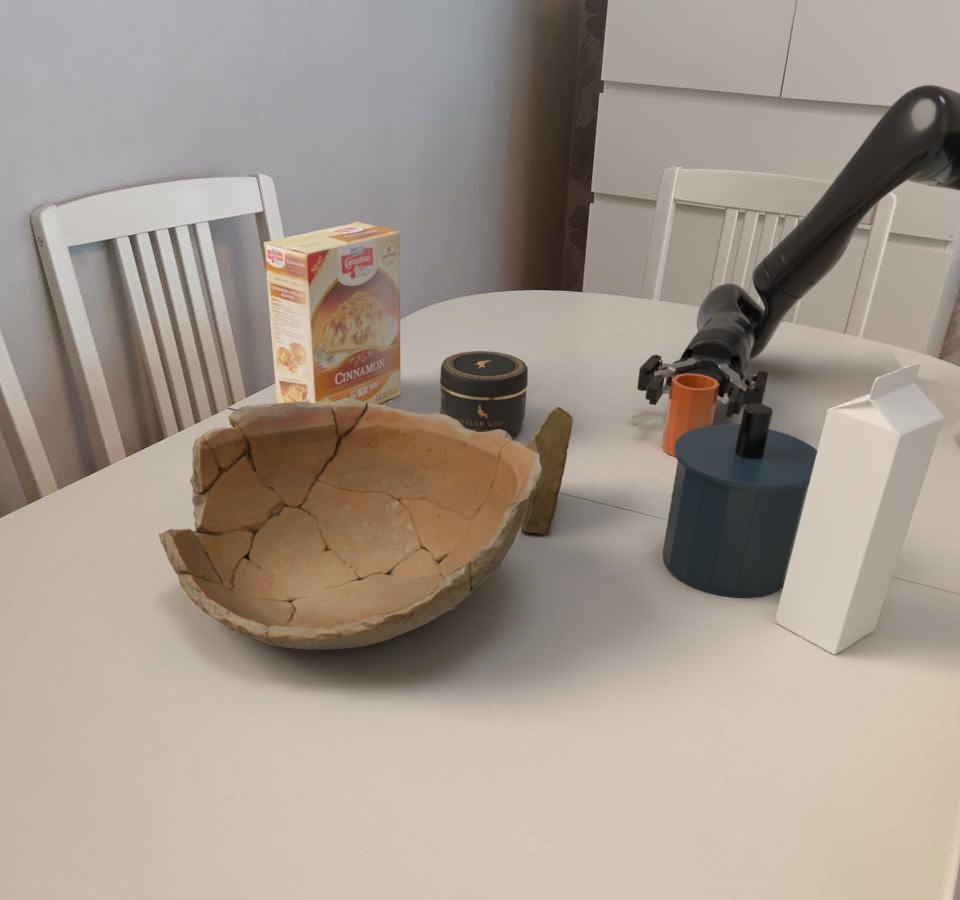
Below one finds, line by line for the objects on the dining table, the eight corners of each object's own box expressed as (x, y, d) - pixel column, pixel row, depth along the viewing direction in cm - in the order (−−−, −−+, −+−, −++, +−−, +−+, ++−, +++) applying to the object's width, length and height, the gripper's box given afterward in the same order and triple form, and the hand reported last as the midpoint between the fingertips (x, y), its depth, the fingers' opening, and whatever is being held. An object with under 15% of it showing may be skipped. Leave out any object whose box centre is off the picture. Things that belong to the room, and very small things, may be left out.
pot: (731, 523, 96) (752, 423, 90) (817, 579, 87) (847, 472, 81) (637, 549, 91) (652, 444, 85) (719, 610, 83) (742, 499, 77)
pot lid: (751, 426, 91) (762, 373, 88) (853, 480, 82) (870, 423, 79) (643, 450, 85) (651, 394, 82) (740, 510, 76) (753, 450, 73)
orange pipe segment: (687, 437, 113) (698, 370, 108) (715, 454, 109) (728, 385, 105) (653, 445, 111) (663, 377, 106) (680, 462, 107) (692, 392, 103)
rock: (573, 527, 89) (610, 473, 96) (522, 450, 86) (564, 400, 93) (489, 560, 96) (530, 508, 103) (440, 490, 94) (485, 441, 100)
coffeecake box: (318, 430, 111) (307, 252, 100) (275, 414, 114) (259, 240, 103) (404, 395, 121) (402, 229, 110) (361, 381, 124) (356, 219, 113)
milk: (773, 623, 81) (835, 366, 69) (815, 599, 85) (881, 350, 72) (836, 656, 78) (913, 391, 65) (877, 631, 81) (959, 373, 68)
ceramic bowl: (106, 649, 72) (89, 451, 65) (236, 535, 96) (233, 383, 90) (506, 705, 69) (529, 505, 63) (535, 574, 94) (553, 420, 88)
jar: (439, 444, 109) (439, 378, 104) (439, 411, 117) (440, 348, 113) (527, 446, 109) (532, 380, 105) (521, 412, 117) (525, 350, 113)
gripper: (663, 319, 118) (632, 359, 106) (781, 336, 114) (764, 379, 102) (654, 379, 123) (624, 424, 110) (768, 397, 119) (750, 446, 106)
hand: (691, 402), depth 106 cm, fingers open, 8 cm apart
